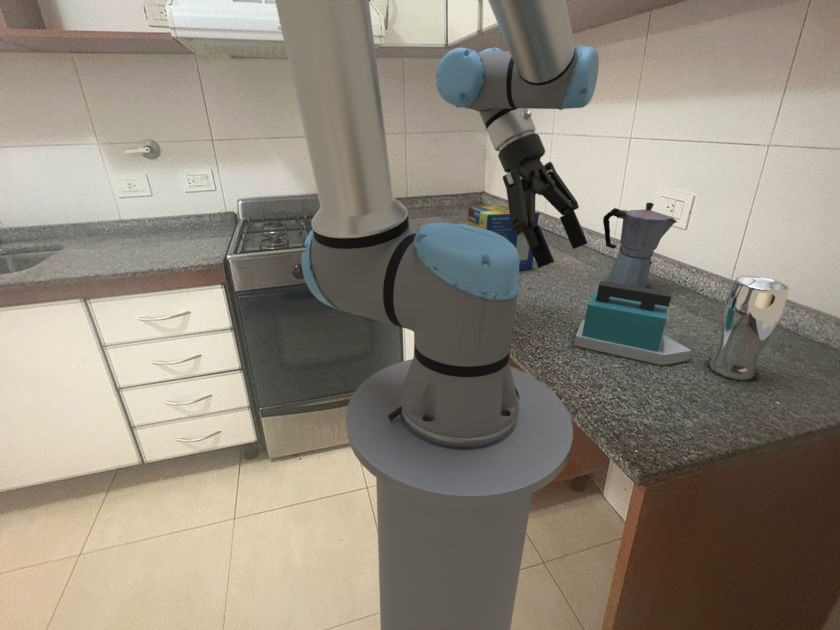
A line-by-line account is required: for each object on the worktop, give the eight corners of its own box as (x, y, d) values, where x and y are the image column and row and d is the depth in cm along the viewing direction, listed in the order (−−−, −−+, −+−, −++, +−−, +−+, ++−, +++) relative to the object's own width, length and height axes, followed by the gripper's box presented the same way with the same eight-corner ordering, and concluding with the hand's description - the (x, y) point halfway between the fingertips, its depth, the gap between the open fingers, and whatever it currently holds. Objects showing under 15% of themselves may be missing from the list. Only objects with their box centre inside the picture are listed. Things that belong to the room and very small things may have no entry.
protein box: (464, 263, 122) (467, 206, 116) (512, 258, 127) (518, 204, 120) (481, 275, 113) (486, 214, 107) (533, 269, 118) (540, 211, 112)
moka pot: (663, 295, 102) (686, 208, 94) (593, 288, 106) (609, 203, 97) (655, 282, 110) (676, 201, 102) (590, 275, 114) (605, 196, 106)
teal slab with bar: (573, 345, 78) (584, 287, 74) (581, 328, 85) (591, 274, 80) (689, 371, 71) (708, 308, 66) (687, 350, 77) (705, 292, 73)
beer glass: (696, 361, 74) (722, 276, 67) (730, 357, 75) (760, 274, 69) (730, 384, 67) (763, 292, 61) (768, 379, 69) (804, 289, 63)
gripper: (494, 135, 65) (550, 266, 66) (566, 127, 82) (610, 232, 83) (458, 160, 71) (511, 281, 72) (533, 148, 88) (575, 246, 89)
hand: (564, 255), depth 78 cm, fingers open, 13 cm apart
